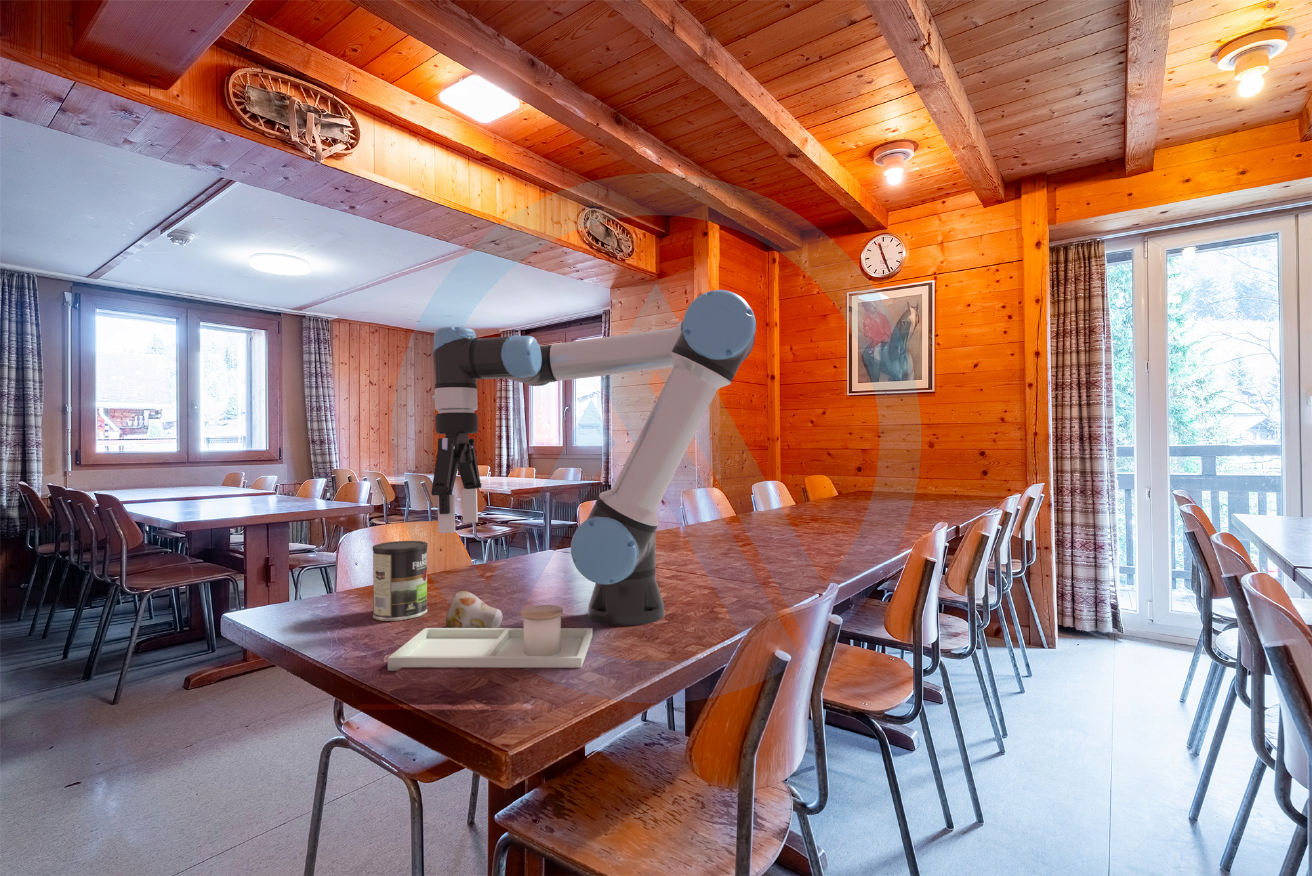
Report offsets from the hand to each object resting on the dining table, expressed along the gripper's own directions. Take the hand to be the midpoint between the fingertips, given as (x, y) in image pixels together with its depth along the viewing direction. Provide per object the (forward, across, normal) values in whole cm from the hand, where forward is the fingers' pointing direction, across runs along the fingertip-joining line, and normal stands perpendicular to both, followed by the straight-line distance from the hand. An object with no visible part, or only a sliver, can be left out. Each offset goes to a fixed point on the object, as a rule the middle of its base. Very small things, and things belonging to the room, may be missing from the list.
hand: (459, 527), depth 111 cm
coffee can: (+19, -11, -16) cm, 27 cm away
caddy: (+19, +12, +10) cm, 25 cm away
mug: (+20, -1, +2) cm, 20 cm away
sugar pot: (+19, +12, +17) cm, 28 cm away
